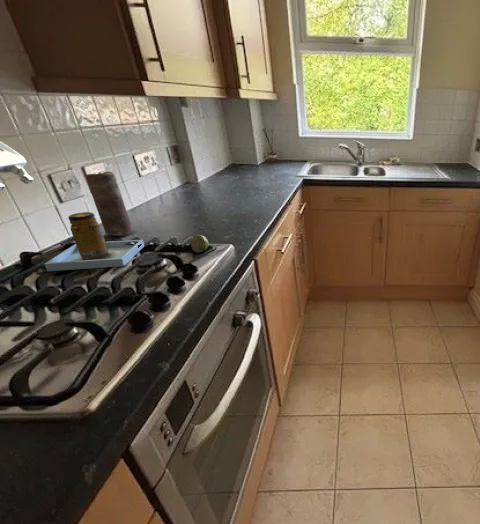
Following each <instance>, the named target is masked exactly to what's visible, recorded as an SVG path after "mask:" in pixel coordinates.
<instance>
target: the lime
mask: <svg viewBox="0 0 480 524" xmlns="http://www.w3.org/2000/svg"><path fill="white" fill-rule="evenodd" d="M209 244H210V242H209V241H208V239H207V237H206V236H204V235H202V234H195V235H194V236H193V237H192V239H191V241H190V245H191V246H190V247H191V249H192V251H193V252H194V253H198V254H200V253H203V252H205V251H207V250H208V249H209Z"/></svg>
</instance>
